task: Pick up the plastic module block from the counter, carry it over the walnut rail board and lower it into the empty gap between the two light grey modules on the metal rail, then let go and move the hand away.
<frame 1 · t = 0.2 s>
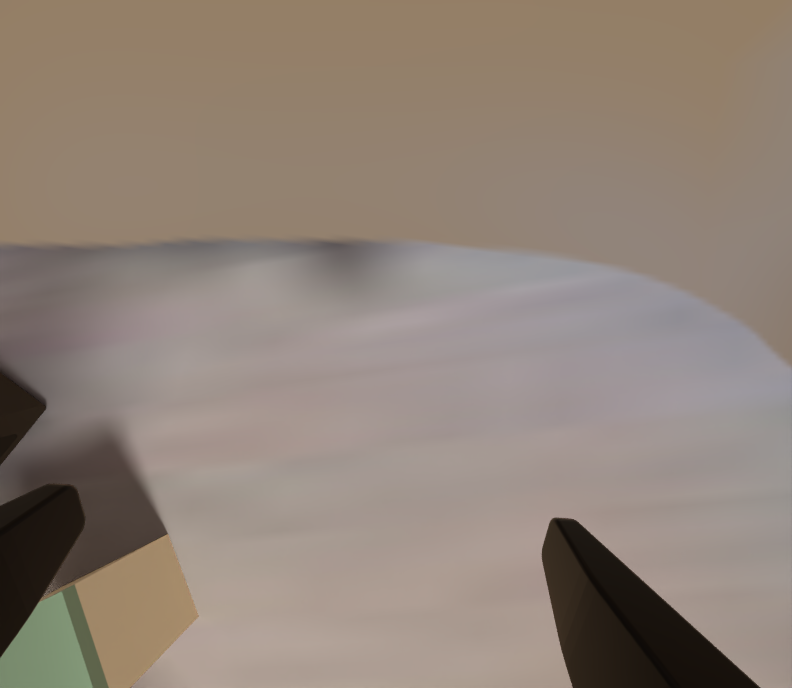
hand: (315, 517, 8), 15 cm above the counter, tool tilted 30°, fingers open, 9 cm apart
module: (130, 601, 21), on the counter
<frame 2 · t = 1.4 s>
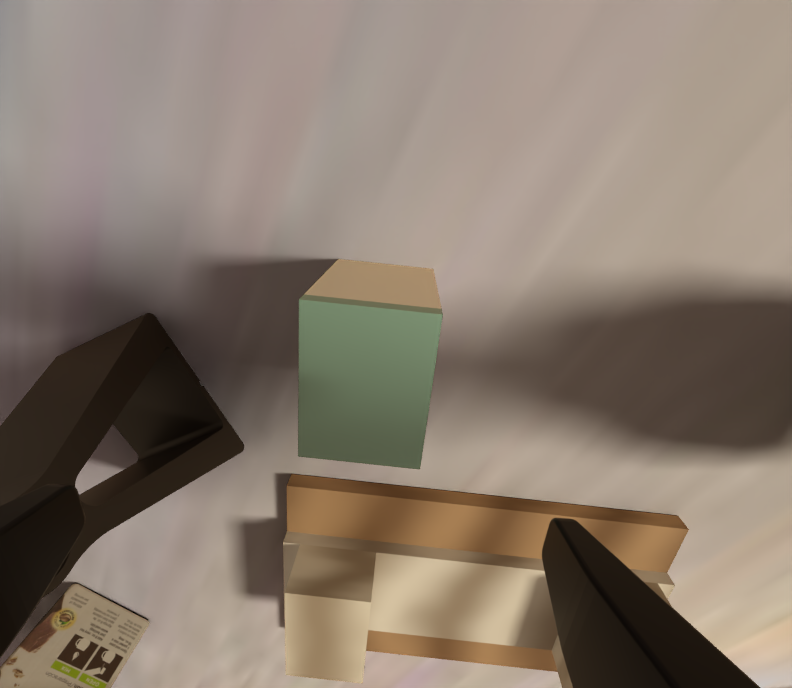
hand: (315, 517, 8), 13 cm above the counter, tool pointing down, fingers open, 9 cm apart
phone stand: (160, 400, 23), on the counter
module: (380, 323, 20), on the counter
coffee box: (91, 627, 31), on the counter
rail board: (465, 577, 27), on the counter
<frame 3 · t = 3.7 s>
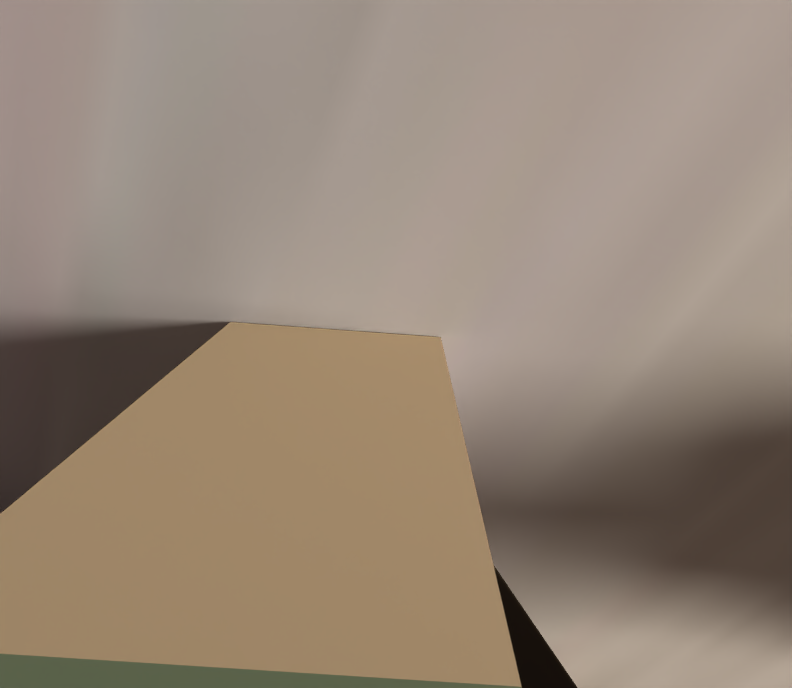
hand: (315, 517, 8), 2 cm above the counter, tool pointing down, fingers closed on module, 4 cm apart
module: (334, 445, 10), on the counter, touching gripper
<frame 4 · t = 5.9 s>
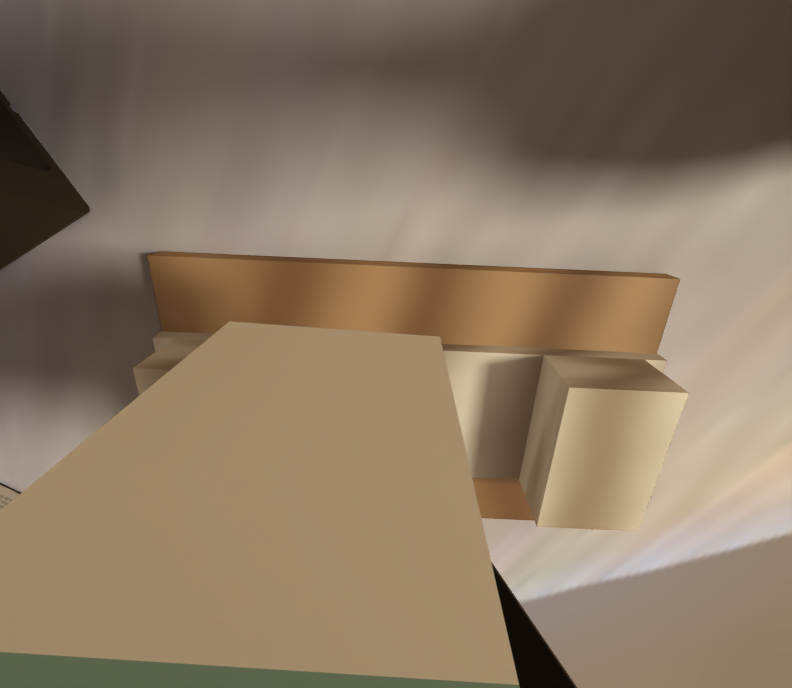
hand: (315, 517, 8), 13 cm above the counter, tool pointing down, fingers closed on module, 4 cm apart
module: (333, 444, 10), point 10 cm above the counter, touching gripper
rail board: (405, 397, 21), on the counter
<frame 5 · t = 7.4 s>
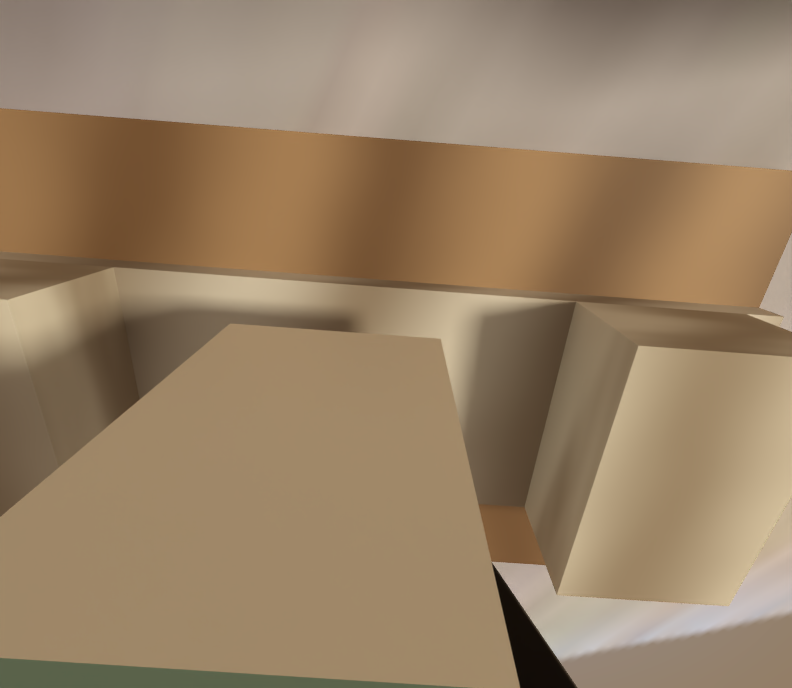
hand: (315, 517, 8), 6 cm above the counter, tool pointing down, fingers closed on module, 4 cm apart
module: (334, 446, 10), point 4 cm above the counter, touching gripper
rail board: (350, 373, 13), on the counter
when the fingers open (5 cm above the counter, at t = 8.4 s): module stays where it is, resting on rail board.
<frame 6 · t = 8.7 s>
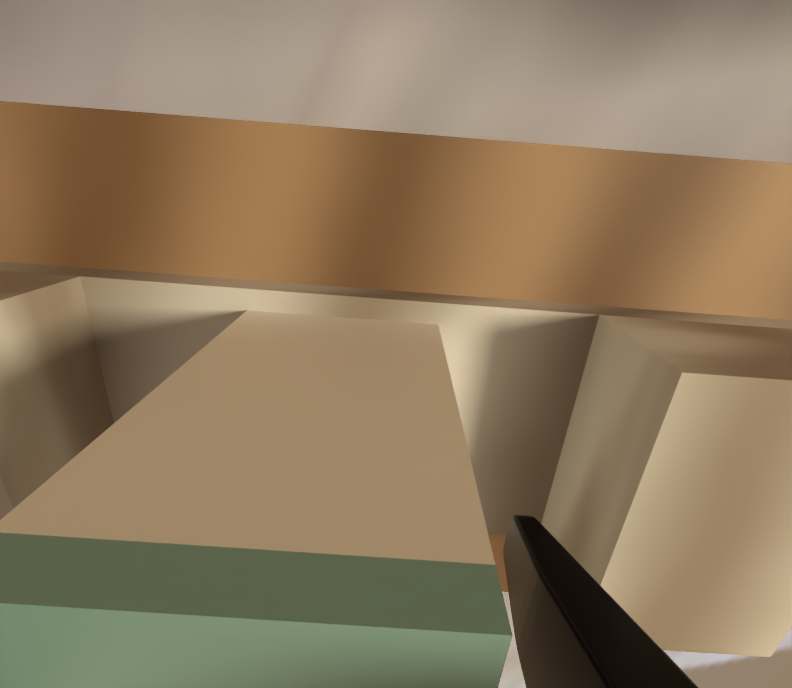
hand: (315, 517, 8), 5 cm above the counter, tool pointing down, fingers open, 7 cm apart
module: (340, 424, 11), point 2 cm above the counter, touching rail board
rail board: (347, 390, 12), on the counter
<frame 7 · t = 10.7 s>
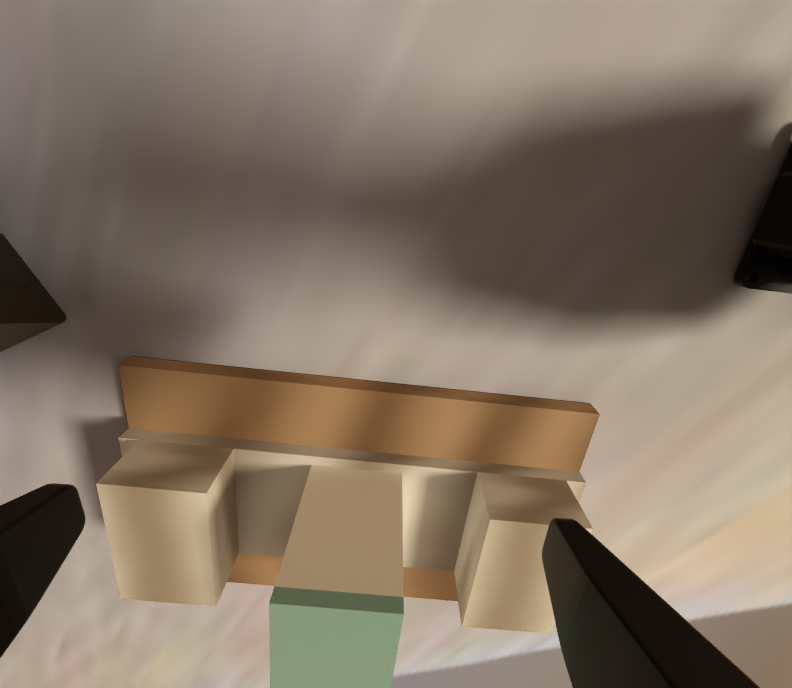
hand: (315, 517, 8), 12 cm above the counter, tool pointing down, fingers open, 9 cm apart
module: (352, 514, 21), point 2 cm above the counter, touching rail board
rail board: (355, 489, 23), on the counter
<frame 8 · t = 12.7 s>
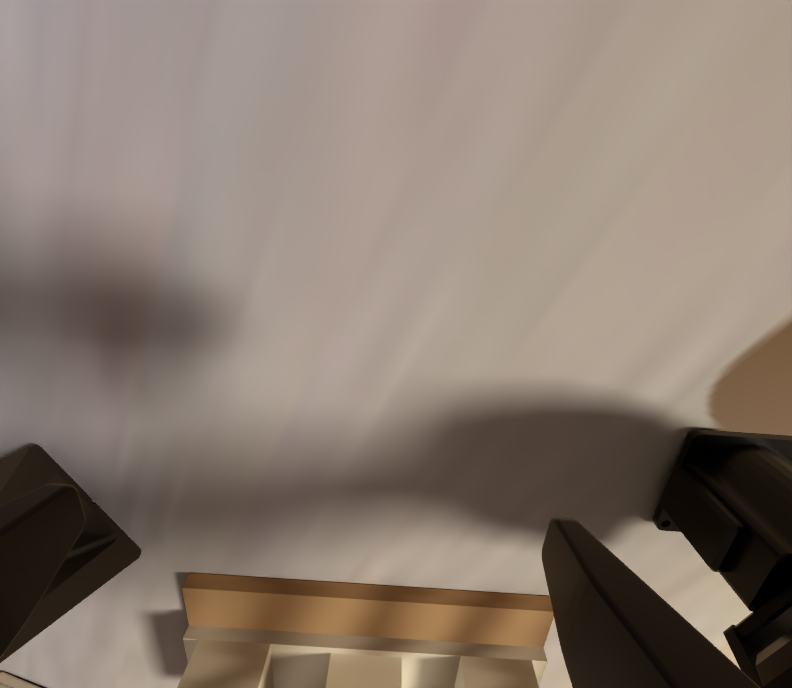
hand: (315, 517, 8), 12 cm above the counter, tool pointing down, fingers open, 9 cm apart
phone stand: (57, 514, 24), on the counter
module: (364, 683, 27), point 2 cm above the counter, touching rail board
rail board: (366, 653, 28), on the counter
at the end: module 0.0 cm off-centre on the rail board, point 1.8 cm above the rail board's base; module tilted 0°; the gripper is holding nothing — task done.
